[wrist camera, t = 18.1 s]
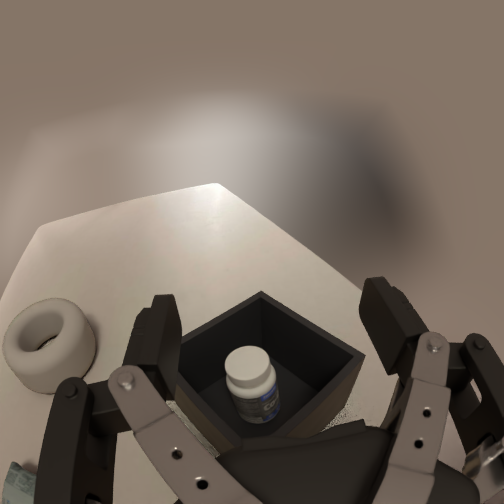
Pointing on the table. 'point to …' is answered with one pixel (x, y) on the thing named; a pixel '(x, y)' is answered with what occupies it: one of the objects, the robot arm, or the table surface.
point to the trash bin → (284, 362)
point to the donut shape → (54, 354)
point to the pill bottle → (252, 384)
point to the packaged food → (18, 486)
